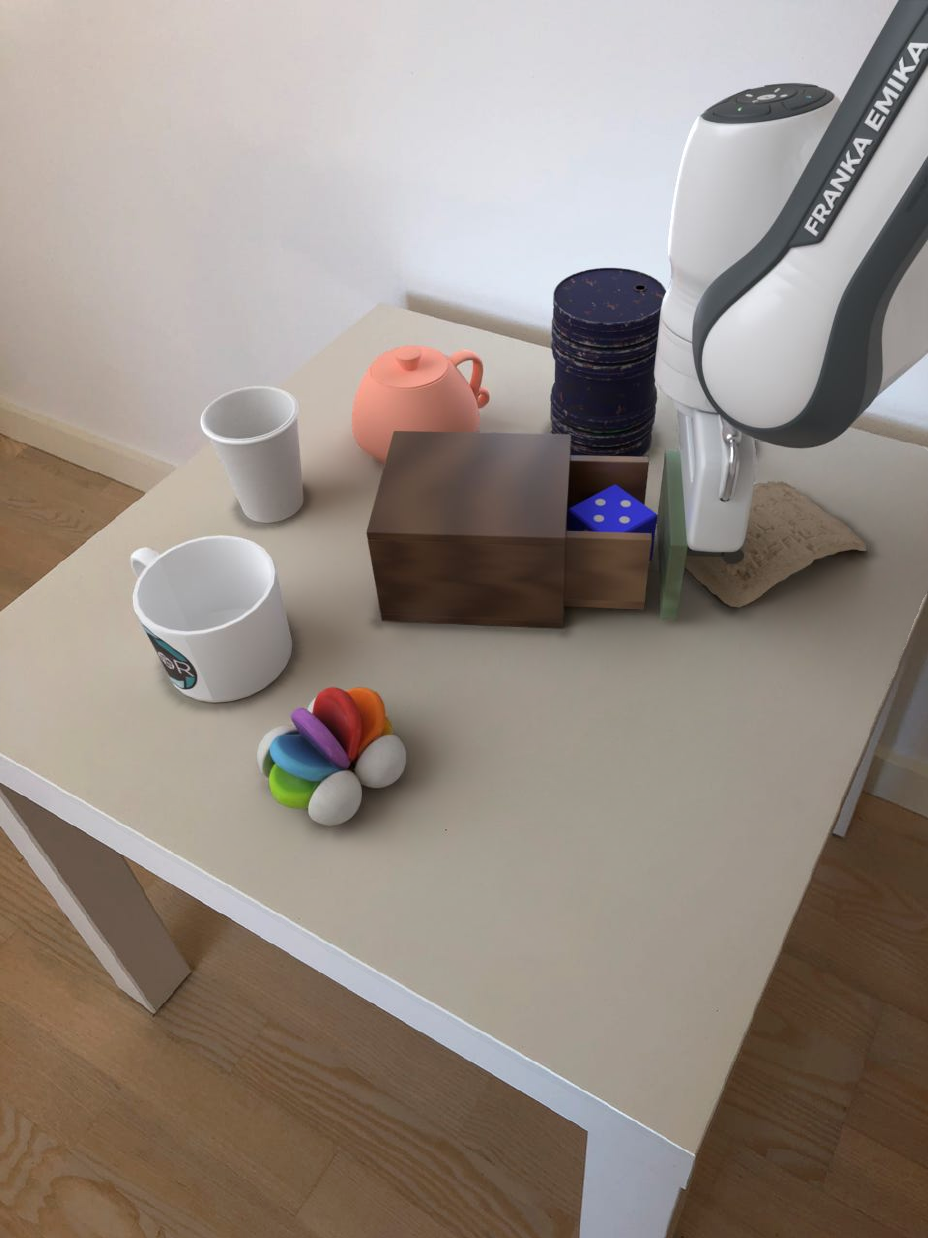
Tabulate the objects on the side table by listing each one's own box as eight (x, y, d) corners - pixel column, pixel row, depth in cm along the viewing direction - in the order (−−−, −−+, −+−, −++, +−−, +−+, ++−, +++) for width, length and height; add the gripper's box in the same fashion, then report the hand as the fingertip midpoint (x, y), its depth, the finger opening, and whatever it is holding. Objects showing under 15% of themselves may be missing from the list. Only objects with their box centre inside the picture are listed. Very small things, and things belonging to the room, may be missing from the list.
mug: (324, 638, 75) (305, 565, 70) (232, 729, 70) (204, 657, 64) (204, 578, 81) (178, 505, 75) (110, 657, 75) (74, 585, 70)
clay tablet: (789, 486, 85) (795, 462, 83) (874, 551, 79) (883, 526, 77) (659, 545, 81) (662, 521, 79) (738, 618, 74) (744, 594, 72)
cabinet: (568, 523, 83) (571, 433, 76) (562, 628, 75) (565, 538, 68) (405, 519, 85) (393, 430, 78) (381, 621, 76) (365, 531, 69)
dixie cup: (210, 506, 88) (180, 415, 81) (280, 463, 92) (258, 373, 84) (265, 545, 84) (239, 453, 76) (336, 499, 87) (318, 407, 80)
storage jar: (573, 480, 87) (578, 333, 77) (534, 422, 94) (534, 280, 83) (670, 454, 89) (689, 308, 78) (626, 400, 96) (638, 258, 85)
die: (606, 588, 75) (610, 541, 71) (565, 555, 78) (567, 508, 74) (653, 561, 77) (659, 514, 73) (611, 529, 79) (615, 482, 76)
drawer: (725, 525, 81) (739, 450, 75) (736, 622, 73) (753, 547, 67) (513, 519, 83) (512, 446, 77) (503, 613, 75) (500, 539, 69)
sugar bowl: (338, 429, 95) (321, 337, 88) (464, 390, 99) (458, 299, 91) (383, 498, 87) (368, 403, 80) (518, 452, 91) (516, 358, 83)
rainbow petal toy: (427, 765, 67) (418, 701, 61) (319, 854, 62) (299, 794, 57) (351, 700, 71) (336, 635, 66) (245, 779, 67) (220, 717, 61)
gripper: (791, 451, 55) (751, 613, 66) (756, 281, 69) (728, 436, 79) (682, 448, 56) (659, 609, 66) (669, 280, 70) (651, 435, 80)
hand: (696, 513), depth 73 cm, fingers closed
